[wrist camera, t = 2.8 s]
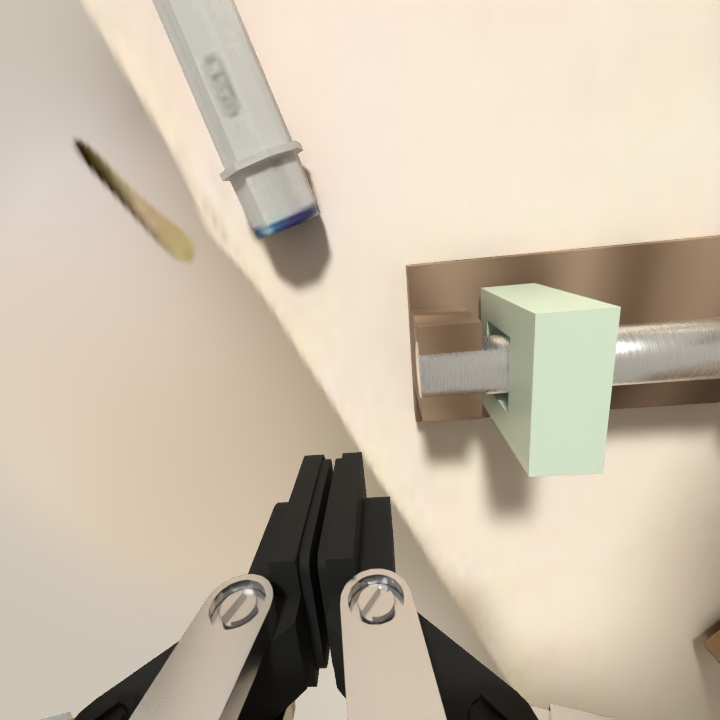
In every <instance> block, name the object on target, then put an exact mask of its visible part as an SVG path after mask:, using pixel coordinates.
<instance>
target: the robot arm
mask: <svg viewBox="0 0 720 720" xmlns="http://www.w3.org/2000/svg"><path fill="white" fill-rule="evenodd" d="M332 468H333V467H332V461H331V459H325V457H324V455H310V456H305V457H304V459H303V462H302V465H301V468H300V470H299V474H298V476H297V479H296V482H295V485H294V488H293V491H292V494H291V497H290V499H289V502H284V503H277V504H276V505H275V507H274V509H273V512H272V514H271V517H270V520H269V522H268V524H267V527H266V529H265V532H264V535H263V537H262V540H261V542H260V545H259V547H258V550H257V552H256V555H255V557H254V560H253V562H252V565H251V568H250V570H249V573H248V574H244V575H240V576H237V577H233V578H231V579H229V580H228V581H226V582H224V583H222V584H221V585H220V586H218V587H217V588H216V589H215V590H214V591H213V592H212V593H211V594H210V595H209V597H208V598H207V599H206V601H205V602H204V604H203V605H202V607H201V608H200V610H199V612H198V613H197V615H196V616H195V618H194V619H193V621H192V622H191V624H190V625H189V627H188V628H187V630H186V632H185V633H184V635H183V636H182V638H181V639H180V641H179V642H177V643H176V644H174V645H173V646H171V647H170V648H169V649H167V650H166V651H164V652H163V653H162V654H160V655H159V656H157V657H156V658H154V659H153V660H152V661H150V662H149V663H147V664H146V665H144V666H143V667H141V668H140V669H139V670H137V671H136V672H134V673H133V674H132V675H130V676H129V677H127V678H126V679H124V680H123V681H121V682H120V683H119V684H117V685H116V686H115V687H113V688H111V689H110V690H109V691H107V692H106V693H104V694H103V695H102V696H100V697H99V698H97V699H96V700H94V701H93V702H92V703H91V704H90V705H88V706H87V707H86V708H85V709H83V710H82V711H81V712H80V713H79V714H78V716H76V718H72V715H71V713H70V712H68V713H65V714H61V715H57V716H54V717H50V718H46V719H42V720H293V718H294V712H295V700H296V699H297V698H298V697H299V696H300V695H301V694H302V693H303V692H304V691H305V690H306V689H307V687H317V682H318V675H319V668H327V665H328V659H329V650H331V657H332V663H333V667H334V672H335V678H336V684H337V688H338V690H339V691H340V692H341V693H342V695H343V696H344V697H345V698H346V704H347V718H348V720H618V719H614V718H610V717H606V716H601V715H597V714H593V713H589V712H584V711H580V710H576V709H572V708H567V707H563V706H559V705H555V704H550V703H549V710H546V709H542V708H537V707H533V706H530V705H529V704H528V703H527V702H526V701H525V700H524V699H523V698H522V697H521V696H520V694H519V693H518V692H517V691H515V690H514V689H513V688H512V687H510V686H509V685H508V684H507V683H505V682H504V681H503V680H502V679H500V678H499V677H498V676H496V675H495V674H494V673H493V672H492V671H490V670H489V669H488V668H486V667H485V666H484V665H483V664H481V663H480V662H479V661H477V660H476V659H475V658H474V657H473V656H472V655H470V654H469V653H468V652H466V651H465V650H464V649H463V648H462V647H460V646H459V645H458V644H456V643H455V642H454V641H453V640H451V639H450V638H449V637H448V636H446V635H445V634H444V633H443V632H441V631H440V630H439V629H438V628H437V627H435V626H434V625H433V624H431V623H430V622H429V621H428V620H427V619H425V618H424V617H423V616H421V615H420V614H419V613H418V612H417V610H416V607H415V603H414V600H413V596H412V593H411V590H410V588H409V586H408V584H407V582H406V581H405V580H404V579H403V578H402V577H401V576H400V575H398V574H396V573H395V557H394V542H393V530H392V529H393V528H392V515H391V504H390V497H373V498H367V497H366V489H365V478H364V469H363V459H362V453H361V452H357V453H343V455H342V458H340V459H336V461H335V466H334V471H333V469H332Z"/></svg>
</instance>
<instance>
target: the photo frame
mask: <svg viewBox="0 0 720 720" xmlns="http://www.w3.org/2000/svg"><path fill="white" fill-rule="evenodd" d="M702 644H703V645H704V646H705V647H706V648H707V649H708V651H709V652H710V653H711V654H712V655H713V656H714V657H715V658H716V660H717V661H718V662H719V663H720V630H718V631H717V632H716V633H715V634H713V635H712V636H711V637H709V638H708V639H707V640H706V641H704V642H703V643H702Z"/></svg>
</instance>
